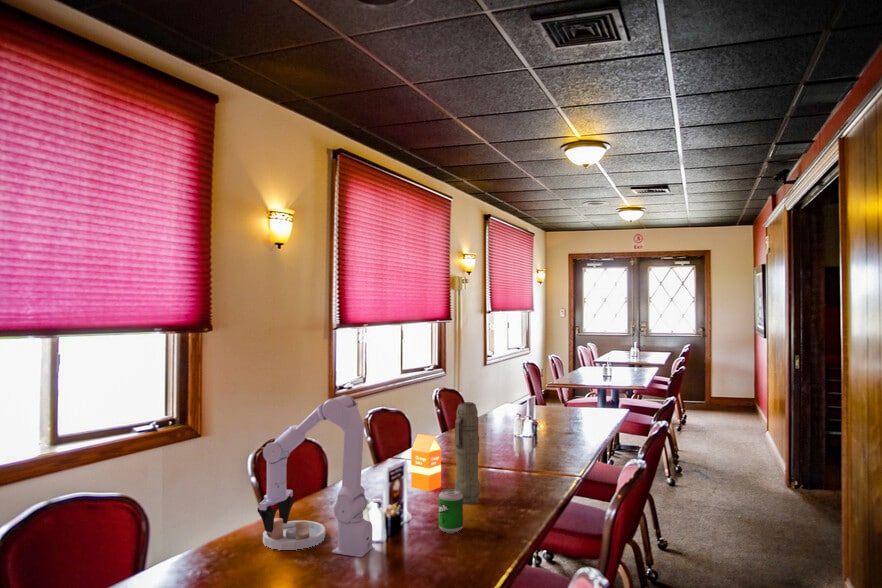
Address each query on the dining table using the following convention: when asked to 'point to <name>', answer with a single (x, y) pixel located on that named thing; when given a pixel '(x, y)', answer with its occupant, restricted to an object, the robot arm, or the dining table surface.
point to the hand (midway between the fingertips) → (276, 527)
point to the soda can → (450, 510)
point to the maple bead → (302, 530)
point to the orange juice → (426, 463)
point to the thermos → (467, 452)
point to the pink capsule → (277, 529)
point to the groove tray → (290, 537)
